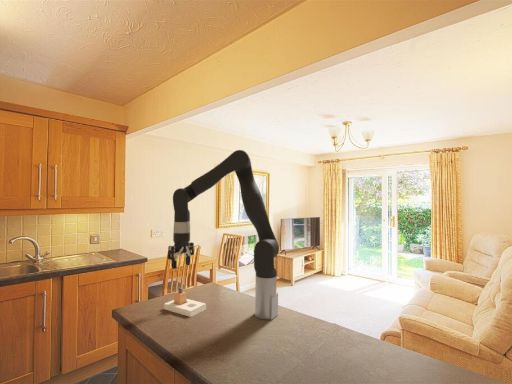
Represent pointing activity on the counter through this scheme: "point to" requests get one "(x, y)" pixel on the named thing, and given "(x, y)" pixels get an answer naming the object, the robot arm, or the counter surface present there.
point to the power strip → (186, 307)
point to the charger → (180, 297)
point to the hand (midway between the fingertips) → (181, 266)
